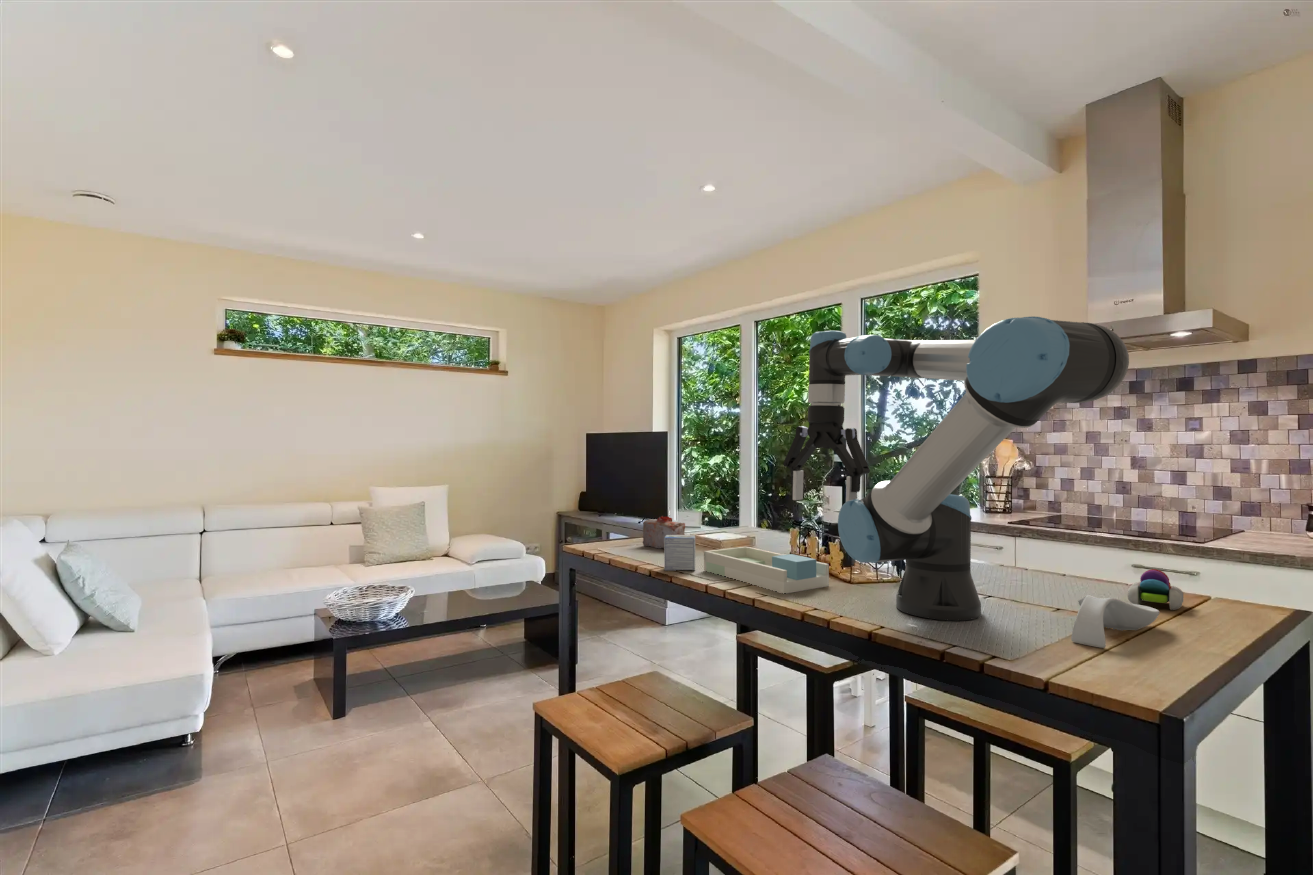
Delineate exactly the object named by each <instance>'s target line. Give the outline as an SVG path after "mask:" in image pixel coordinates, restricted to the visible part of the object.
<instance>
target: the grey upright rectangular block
mask: <svg viewBox="0 0 1313 875" xmlns="http://www.w3.org/2000/svg"><path fill="white" fill-rule="evenodd" d="M663 549H664V552H663V555H664V558H663V559H664V570H663V571H676V570H694V571H696V535H695V534H693V535H692V534H685V535H666V536H665V538H664V548H663ZM694 571H693V572H694Z"/></svg>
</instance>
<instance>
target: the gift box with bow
mask: <svg viewBox="0 0 1313 875" xmlns="http://www.w3.org/2000/svg"><path fill="white" fill-rule="evenodd" d="M685 530H686V523H685V522H679V521H673V518H672V517H670V516H664V515H661V516H659V517H657V519H656V518H655V519H654V518H652V519H651V518H649V519H647V520H644V521H643V522H642V546H644V547H649V546H651V547H650V548H655V549H657V548H658V549H664V538H665V536H666V535H686V534H685V533H686V532H685Z"/></svg>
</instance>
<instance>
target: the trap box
mask: <svg viewBox="0 0 1313 875" xmlns="http://www.w3.org/2000/svg"><path fill="white" fill-rule="evenodd" d="M780 555H785V554H783V553H778V552H774V551H768V550H765V549H761V548H755V547H750V546H739V547H729V548H720V549H711V550H703V571H704V570H705V571H704V572H706V571H707V572H706V573H710V572H712V573H711V574H713V573H714V574H713V575H717V574H719V575H718V576H720V575H722V576H721V577H724V576H726V577H725V578H727V577H729V578H728V579H730V578H733V579H732V580H734V579H736V580H735V581H737V580H740V581H739V582H741V581H743V582H742V583H744V582H748V583H750V584H749V585H751V584H752V585H751V586H754V585H757V586H756V587H758V586H759V587H758V588H761V587H763V588H762V589H765V588H766V589H765V590H768V589H770V590H769V591H772V590H773V591H772V592H775V591H777V592H776V593H778V594H782V593H783V595H785V594H784V593H786V594H791V593H797V592H802V591H807V590H808V591H809V590H814V589H820V588H825V587H829V586H830V574H829V573H830V572H829V571H830V565H829V563H825V562H820V561H816V577H814V578H808V579H802V580H794V579H790V578H787V570H783V569H779V568H775V567H772V556H780ZM748 583H747V584H748Z"/></svg>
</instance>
